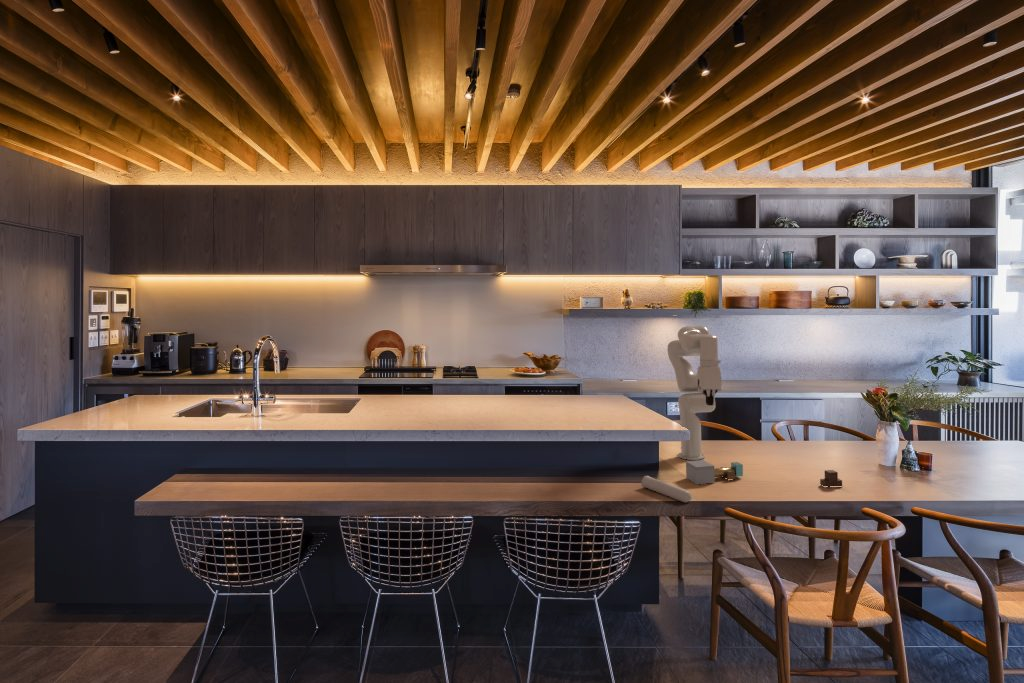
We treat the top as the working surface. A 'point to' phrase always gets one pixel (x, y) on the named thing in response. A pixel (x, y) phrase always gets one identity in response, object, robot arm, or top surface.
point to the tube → (666, 489)
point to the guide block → (729, 474)
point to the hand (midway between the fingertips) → (709, 404)
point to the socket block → (700, 472)
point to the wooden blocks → (831, 479)
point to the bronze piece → (734, 467)
